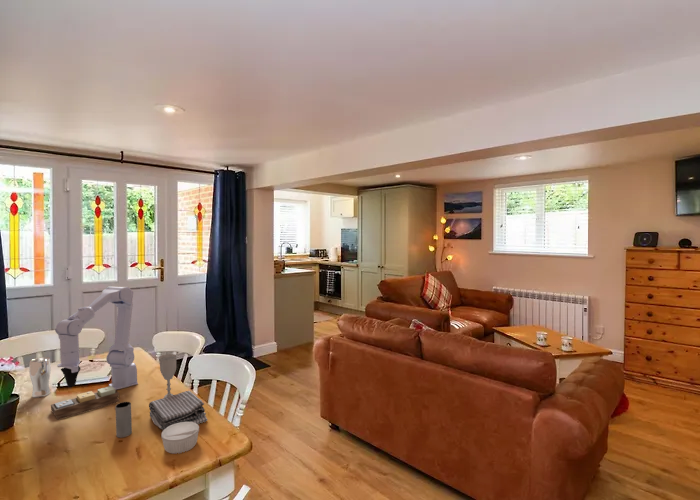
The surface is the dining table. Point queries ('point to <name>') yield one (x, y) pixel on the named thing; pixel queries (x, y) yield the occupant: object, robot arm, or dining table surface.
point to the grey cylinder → (123, 419)
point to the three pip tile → (63, 404)
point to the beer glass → (40, 376)
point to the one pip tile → (105, 391)
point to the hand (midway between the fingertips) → (71, 386)
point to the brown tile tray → (85, 405)
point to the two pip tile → (85, 396)
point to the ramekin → (180, 437)
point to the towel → (177, 410)
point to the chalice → (168, 369)
